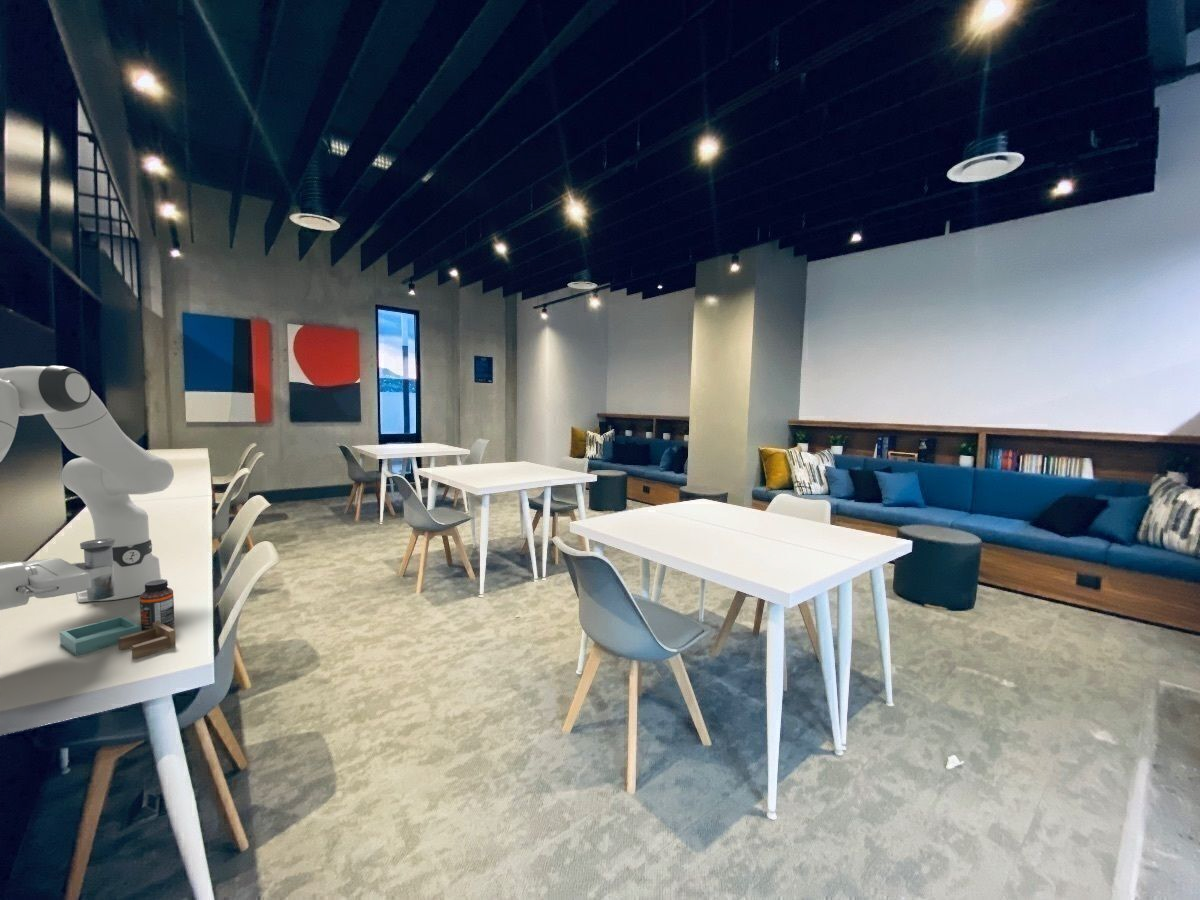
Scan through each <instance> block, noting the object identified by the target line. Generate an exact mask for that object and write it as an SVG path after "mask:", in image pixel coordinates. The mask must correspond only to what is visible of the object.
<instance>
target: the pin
mask: <svg viewBox="0 0 1200 900" xmlns="http://www.w3.org/2000/svg"><path fill="white" fill-rule="evenodd" d="M112 545H115V539H110V538H108V539H96V540H95V539H90V540H86V541H83V542H81V543H80V544H79V547H80V550H83V555H84V556H83V557H84V563H85V570H87V569H89V570H90V569H94V568H97V567H99V566H105V565H107V566H110V567H111V573H110V574H108V575H103V576H99V577H97V578H94V579H92V580H91V588H90V589H88V590H87V600H90V601H89V602H95V601H94V600H102V599H106V598H110V597H112V596H114V595H115V582H114V567H113V552H112Z"/></svg>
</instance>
